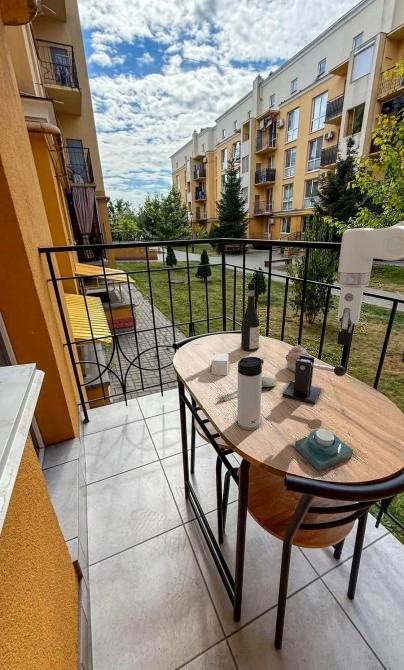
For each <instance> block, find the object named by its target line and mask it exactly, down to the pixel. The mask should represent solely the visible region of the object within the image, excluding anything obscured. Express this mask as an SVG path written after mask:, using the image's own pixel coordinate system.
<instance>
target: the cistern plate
mask: <svg viewBox="0 0 404 670" xmlns="http://www.w3.org/2000/svg"><path fill="white" fill-rule="evenodd" d="M317 430H318V429H315V430H312V431H310V432H309V434H308V436H306V437H302V438H300V439H297V440H295V442H294V449H295V450H296V451H297V452H298V453H299V454H300V455H301V456H302V457H304V459H305V460H306V461H307V462H308V463H309V464H311V466H312V467H314V468H315V469H316V470H317V471H318V472H321V471H323V470H325V469H328V468H330V467H332V466H334V465H337V464H339V463H341V462H344V461H346V460H349V459H351V458H352V457H353V452H354V451H353V449H352V448H351V447H350V446H348V445H347V444H346V443H345V442H343V441H342V440H340V438H339V437H338V436H337V435H336V434H335V433H333V435H334V442H333V445H331V446H323V445H320V444H318V443H317V442H316V440H315V435H316V431H317Z"/></svg>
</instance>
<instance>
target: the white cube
mask: <svg viewBox="0 0 404 670" xmlns="http://www.w3.org/2000/svg"><path fill="white" fill-rule="evenodd" d="M229 356H230V355H229V354H228V353H213V354H212V357H211V361H210V363H211V375H215V376H216V375H217V376H219V375H220V376H228V374H229V369H230V368H229V367H230V365H229V364H230V363H229V362H230V361H229V358H230V357H229Z"/></svg>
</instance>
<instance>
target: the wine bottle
mask: <svg viewBox="0 0 404 670" xmlns="http://www.w3.org/2000/svg"><path fill="white" fill-rule="evenodd" d="M255 288H256V283H255V282H248V283H247V307H246V309H245V312H244V314H243V317H242V321H241V325H240V326H241V329H240V330H241V333H240V334H241V335H240V336H241V339H240V345H241V349H242V350H244V351H245V352H254V351H257V350H259V348H260V329H261V328H260V327H261V323H260V317H259V316H258V312H257V310H256V306H255Z"/></svg>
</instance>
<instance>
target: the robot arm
mask: <svg viewBox="0 0 404 670" xmlns="http://www.w3.org/2000/svg"><path fill="white" fill-rule="evenodd" d="M374 259H377V260H383V261H397V260H401V259H404V220H402V221H400V222H398V223H396V224H394V225H391V226H388V227H383V228H373V227H372V228H370V227H360V228H357V227H356V228H348V229H346V230H345V231H343V234H342V236H341V246H340V251H339V261H338V269H337V276H336V285H337V286H340V289H339V290H340V291H339V298H338V307H337V320H336V321H337V323H340V324H339V330H338V334H337V341H336V344H337V345H339V346H340V345H341V346H347V347H348V346H350V345H351V343H352V342H351V341H352V336H353V330H352V329H353V324H354V325H355V326H356V325H358V324H359V321H360V318H361V310H362V305H363V298H364V290H365V287H368V286H369V285H370V279H371V273H372V269H373V267H372V266H373V263H374Z"/></svg>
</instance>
